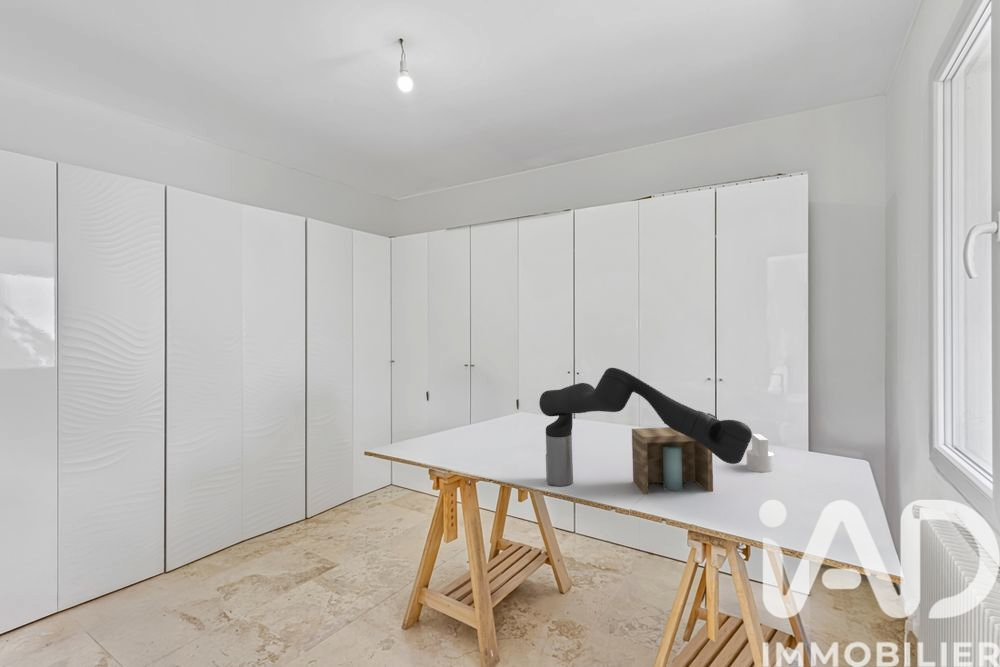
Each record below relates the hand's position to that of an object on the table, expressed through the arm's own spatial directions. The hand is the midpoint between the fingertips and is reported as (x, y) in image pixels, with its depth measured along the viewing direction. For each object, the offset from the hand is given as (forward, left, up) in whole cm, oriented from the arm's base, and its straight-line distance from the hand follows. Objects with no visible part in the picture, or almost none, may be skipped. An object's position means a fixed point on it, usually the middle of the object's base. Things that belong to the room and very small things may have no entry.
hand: (680, 415), depth 153 cm
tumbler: (+1, +11, -27) cm, 29 cm away
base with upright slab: (+40, +27, -27) cm, 55 cm away
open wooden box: (+1, +12, -27) cm, 30 cm away
